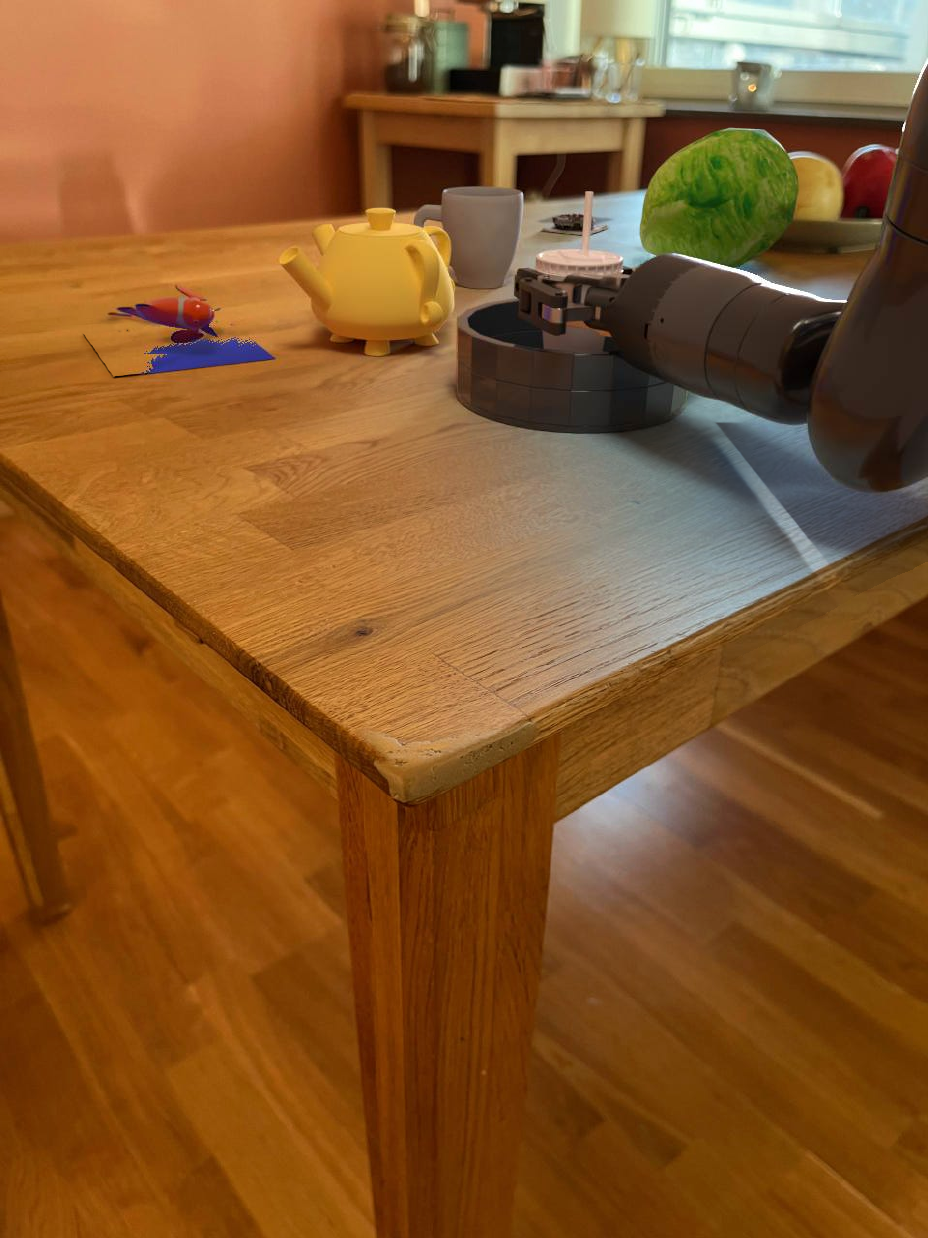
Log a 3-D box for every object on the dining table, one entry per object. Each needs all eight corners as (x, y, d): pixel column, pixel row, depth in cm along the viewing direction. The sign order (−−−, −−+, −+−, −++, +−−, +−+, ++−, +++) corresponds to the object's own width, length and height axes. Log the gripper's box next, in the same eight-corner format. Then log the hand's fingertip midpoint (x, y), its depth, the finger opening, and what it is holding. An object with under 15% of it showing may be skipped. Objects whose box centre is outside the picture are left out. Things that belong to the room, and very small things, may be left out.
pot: (658, 362, 84) (665, 296, 81) (712, 432, 69) (724, 354, 66) (452, 362, 83) (453, 295, 80) (461, 433, 68) (462, 354, 65)
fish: (234, 291, 81) (127, 300, 77) (239, 349, 83) (136, 360, 80) (195, 264, 91) (98, 271, 87) (201, 316, 93) (107, 325, 90)
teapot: (320, 318, 96) (312, 194, 90) (459, 323, 95) (461, 198, 89) (284, 360, 83) (272, 219, 78) (444, 366, 82) (444, 224, 77)
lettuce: (705, 245, 133) (634, 145, 125) (843, 180, 118) (771, 62, 110) (665, 330, 126) (586, 230, 118) (805, 274, 110) (725, 154, 103)
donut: (562, 223, 150) (563, 208, 148) (610, 228, 146) (611, 213, 145) (538, 230, 143) (539, 215, 142) (587, 235, 140) (588, 220, 139)
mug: (521, 276, 114) (524, 187, 110) (518, 293, 107) (522, 197, 102) (418, 273, 115) (418, 184, 110) (409, 289, 108) (407, 194, 103)
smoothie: (566, 405, 72) (580, 198, 65) (511, 384, 76) (519, 188, 69) (629, 391, 75) (649, 193, 68) (573, 372, 79) (587, 184, 72)
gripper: (801, 256, 62) (644, 220, 74) (610, 273, 56) (476, 230, 69) (781, 374, 65) (634, 320, 78) (600, 402, 60) (474, 339, 73)
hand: (560, 278), depth 73 cm, fingers closed on smoothie, 6 cm apart
